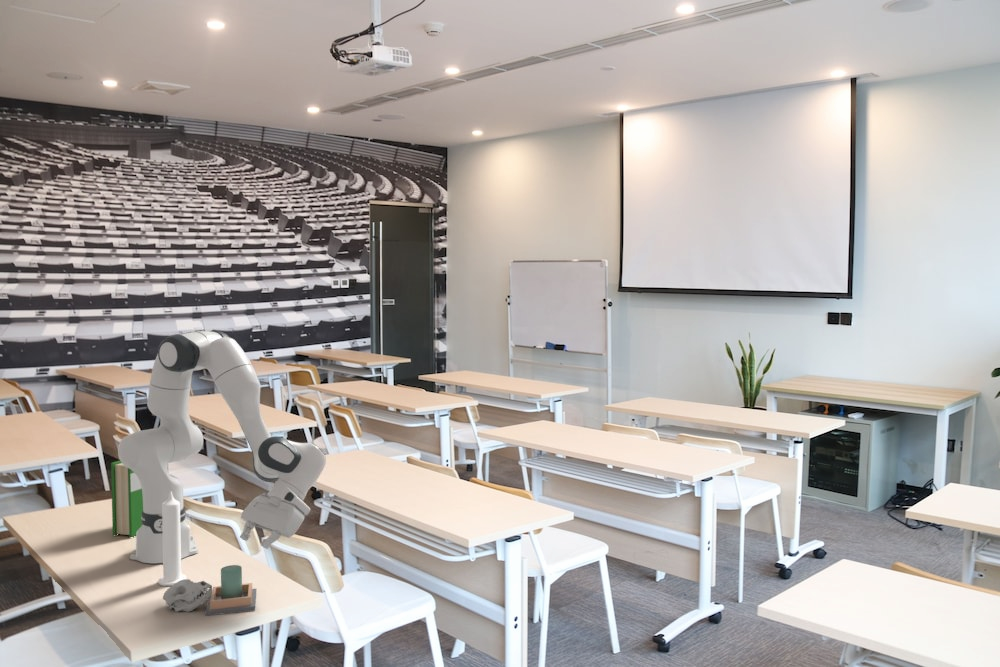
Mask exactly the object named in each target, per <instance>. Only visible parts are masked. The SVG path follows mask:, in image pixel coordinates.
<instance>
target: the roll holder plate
mask: <svg viewBox="0 0 1000 667" xmlns="http://www.w3.org/2000/svg"><path fill="white" fill-rule="evenodd" d="M256 603H257V588H253V582H248V583H242V597H237V598H228V599H221V585H219V586H212V595H211V597H210V598H209V599H208V600H207V603H206V607H205V608H206V609H205V611H204V612H205V616H206V615H207V616H213V614H216V615H221V614H220V613H225V614H230V613H231V612H234V613H240V612H241V611H243V612H249V611H250V610H252V611H256V605H257V604H256ZM241 613H242V612H241Z"/></svg>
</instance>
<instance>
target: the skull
mask: <svg viewBox="0 0 1000 667" xmlns="http://www.w3.org/2000/svg"><path fill="white" fill-rule="evenodd" d="M212 590H213V586H212V584H210V583H208V582H207V581H205V580H201V581H198V582H194V581H192V580H191V579H189V578H188V579H185V580H181V581H179V582H177V583H175V584H174V585H173V586H169V587H168V588H167V589H166V591H165V592H164V593H163V596H162V599H163V601H165V604H166V605H167V607H168V608H169V610H172V609H174V612H176V613H178V612H180V611H184V612H186V613H190V612H192V611H194V610H195V609H197V608H198V607H200V606H202V604H203V603H205V602H208V599H209V598H210V597H211V595H212ZM189 611H190V612H189Z"/></svg>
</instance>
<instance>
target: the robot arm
mask: <svg viewBox="0 0 1000 667" xmlns="http://www.w3.org/2000/svg"><path fill="white" fill-rule="evenodd" d="M203 369H206V370H208V373H209V374H210V376H211V378H212V380H213V382H214V385H215V386H216V388H217V390H218V392H219V393H220V395H221V397H222V398H223V400H224V401H225V403H226V405H228V407H229V408H230V411H231V412H232V414H233V416H235V418H236V420H237V421H238V423H239V427H241V430H242V431H243V434H244V437H245V439H246V440H247V443H248V445H249V447H250V450H251V453H252V468H253V472H254V474H255V476H257V478H258V479H259V480H260V481H262V482H266V483H274V484H273V486H272V487H271V488H270V490H269V492H263V493H261V494H259V495H258V496H256V497H254V498H253V499H252V500H251V501H249V502H250V503H249V504H247V505H246V506H245V508H244V509H243V511H242V512H241V515H240V518H241V520H242V521H244V522H245V524H244V526H243V529H242V530H243V531H242V532H241V534H240V535H239V538H240V539H241V540H242V541H245V542H247V541H249V539H250V538H251V535H250V534H251V531H252V530H254V528H256V527H257V528H260V529H262V530H265V531H268V532H270V535H269V536H268V537H267V538H263V540H262V541H261V542H260V547H262V548H264V549H266V550H267V549H269V548H270V547H271V545H272V544H274V543H275V542H276V541H277V540H279V539H280V538H281V536H283V537H285V538H287V539H290V538H291V537H293V536H294V535H295V533H297V531H298V530H299V528H300V527H301V525H302V524H303V522H304V520H305V516H308V515H309V514H310V512H311V508H310V507H309V505H307V504H306V503H305V502H304V501H305V498H306V497H307V494H308V491H309V490H310V489H311V488H312V487H313V486H314V485H315V483H316V482H317V481H318V479H319V477H320V476H321V474H322V472H323V471H324V469H325V466H326V465H327V458H326V455H325V453H324V452H323V450H322V449H321V448H320V447H319V446H318V445H316V444H315V443H312V442H297V441H293V440H289V439H286V438H284V437H282V436H272V435H271V434H270V432H269V429H268V427H267V424H266V423H265V421H264V418H263V416H262V412H261V411H262V410H261V386H260V381H259V377H258V375H257V373H256V370H255V368H254V366H253V364H252V362H251V360H250V359H249V357H248V355H247V354H246V352H245V351H244V349H243V348H242V347H241V345H240V344H239V343H238V342H237V341H236V340H235V339H234V338H232V337H230V336H229V335H228V334H227V333H225V332H223V331H220V330H219V331H218V330H205V331H204V330H198V331H197V330H196V331H191V332H187V333H181V334H179V333H178V334H173V335H172V334H171V335H169V336H167V337H166V338H164V339H163V340H162V341H161V342H160V343H159V345H158V351H157V354H156V357H155V360H154V362H153V366H152V370H151V374H150V375H151V376H150V379H149V380H150V381H149V389H148V396H147V402H146V406H147V409H148V410H149V412H151V414H153V415H154V416H156V417H157V418H159V422H160V423H159V424H160V425H159V426H158V427H155V428H149V429H143V430H138V431H135V432H133V433H130V434H129V435H125V436H123V438H122V439H121V440H120V442H119V444H118V448H117V456H118V459H119V461H121V462H122V464H123V465H124V466H126V467H127V468H129V469H131V470H132V471H133V472H134V473H135V474H136V475H137V477H138V479H139V481H140V483H141V487H142V496H143V511H142V515H141V519H142V524H143V525H142V526H141V528H139V529H138V531H137V533H136V537H135V538H136V540H135V543H136V544H135V550H134V551H133V552H132V553H131V554H130V555H129V559H130V560H133V561H138V562H141V563H143V564H163V530H162V504H163V503H164V502H165V501H166V500H168V497H169V493H170V491H171V492H172V494H173V497H174V499H175V500H177V501H179V502H180V529H181V560H182V559H184V558H186V557H189V556H193V555H196V554H198V553H199V548H198V546H197V542H196V539H195V537H194V536H193V535H191V526H190V525H189V523H188V522H187V521H186V519H187V518H186V508H185V506H184V484H183V482H182V480H181V479H179V477H177V476H175V475H172V474H170V472H169V468H168V469H167V463H168V464H170V463H173V462H179V461H182V460H186V459H188V458H191V457H192V456H193V457H194V455H196V454H198V453H199V452H200V451H201V450H202V449H203V445H204V436H203V433H202V430H201V429H200V428H199V427H198V426H197V425H195V423H193V421H192V420H191V418H190V417H191V416H190V412H189V403H190V396H191V395H190V393H191V388H192V387H191V386H192V377H193V373H194V372H197V371H201V370H203Z"/></svg>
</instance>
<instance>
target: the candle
mask: <svg viewBox="0 0 1000 667" xmlns="http://www.w3.org/2000/svg"><path fill="white" fill-rule="evenodd" d="M162 530H163V563H162V566H163V568H162V569H163V570H162V571H163V576H162V577H160V578H159V579H158V584H159V586H162V587H171V586H173V585H174V584H175V583H177V582H179V581H181V580H185V579H187V575H186V574H183V573H182V559H181V529H180V502H179V501H177V500H175V499H174V497H173V494H172V492H171V491H170V493H169V497H168V500H166V501H165V502H164V503H163V504H162Z"/></svg>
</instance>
